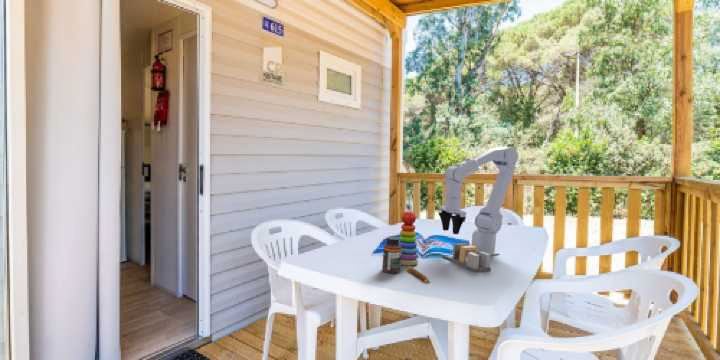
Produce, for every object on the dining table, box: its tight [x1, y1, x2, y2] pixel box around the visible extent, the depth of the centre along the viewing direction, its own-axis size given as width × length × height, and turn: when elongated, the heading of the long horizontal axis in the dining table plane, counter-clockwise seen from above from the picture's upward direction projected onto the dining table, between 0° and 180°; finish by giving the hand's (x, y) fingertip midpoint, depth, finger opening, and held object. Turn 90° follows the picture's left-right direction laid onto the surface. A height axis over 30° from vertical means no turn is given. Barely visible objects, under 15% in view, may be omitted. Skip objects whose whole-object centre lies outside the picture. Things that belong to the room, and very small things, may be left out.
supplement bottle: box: [382, 236, 402, 274], centre depth 130 cm, size 6×6×11 cm
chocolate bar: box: [406, 265, 430, 284], centre depth 126 cm, size 3×12×2 cm, turn 21°
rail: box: [443, 252, 492, 273], centre depth 144 cm, size 18×7×6 cm, turn 23°
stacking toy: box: [398, 210, 419, 267], centre depth 140 cm, size 8×8×19 cm
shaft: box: [452, 243, 481, 261], centre depth 144 cm, size 12×5×5 cm, turn 23°
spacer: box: [459, 245, 478, 263], centre depth 143 cm, size 3×5×6 cm, turn 113°
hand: (450, 232), depth 152 cm, fingers open, 6 cm apart
